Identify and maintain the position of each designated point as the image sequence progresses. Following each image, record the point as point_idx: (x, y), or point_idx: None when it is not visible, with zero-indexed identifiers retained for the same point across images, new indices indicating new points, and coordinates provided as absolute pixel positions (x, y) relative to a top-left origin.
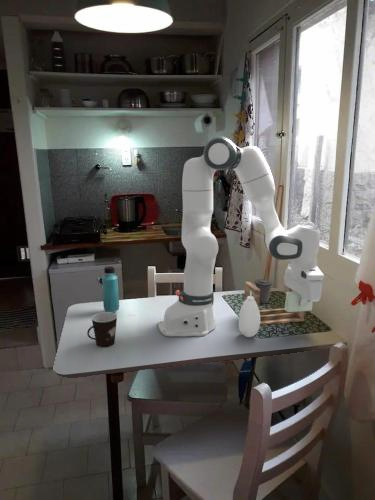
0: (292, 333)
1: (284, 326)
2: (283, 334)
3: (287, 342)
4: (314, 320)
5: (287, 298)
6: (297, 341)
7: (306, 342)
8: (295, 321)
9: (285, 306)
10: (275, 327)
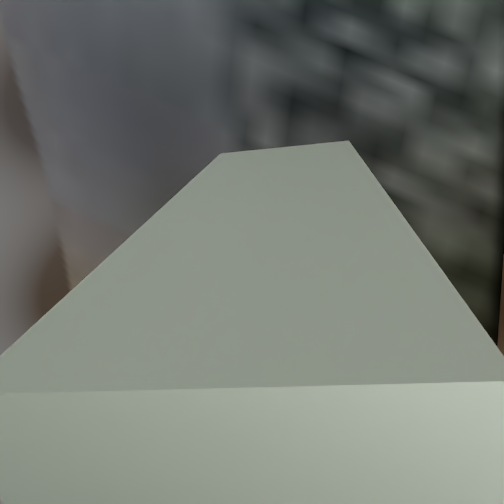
0: None
1: (435, 184)
2: (266, 102)
3: (105, 76)
4: None
5: (260, 227)
6: (122, 178)
7: (104, 245)
8: (500, 329)
9: (325, 154)
10: (437, 76)
